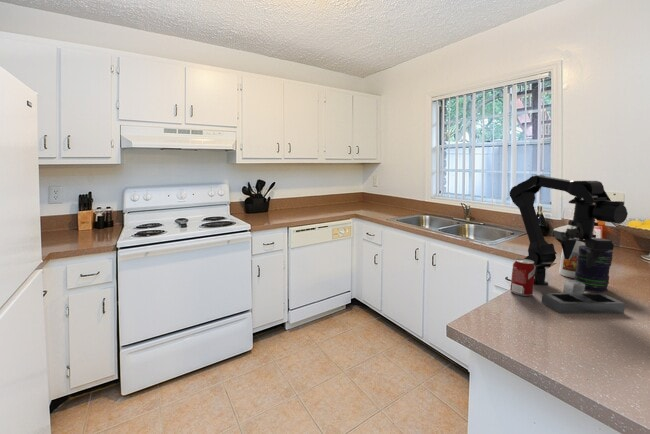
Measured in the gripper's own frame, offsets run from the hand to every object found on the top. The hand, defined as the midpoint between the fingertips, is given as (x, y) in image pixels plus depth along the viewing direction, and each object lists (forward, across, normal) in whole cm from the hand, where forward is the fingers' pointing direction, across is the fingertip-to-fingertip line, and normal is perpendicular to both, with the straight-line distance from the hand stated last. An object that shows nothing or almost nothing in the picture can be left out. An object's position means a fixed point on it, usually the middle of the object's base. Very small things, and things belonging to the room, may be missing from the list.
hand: (577, 263), depth 108 cm
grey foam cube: (+12, 0, 0) cm, 12 cm away
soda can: (+12, -2, -17) cm, 21 cm away
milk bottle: (+12, -21, +16) cm, 30 cm away
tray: (+12, +9, -5) cm, 16 cm away
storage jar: (+12, -8, +13) cm, 20 cm away
